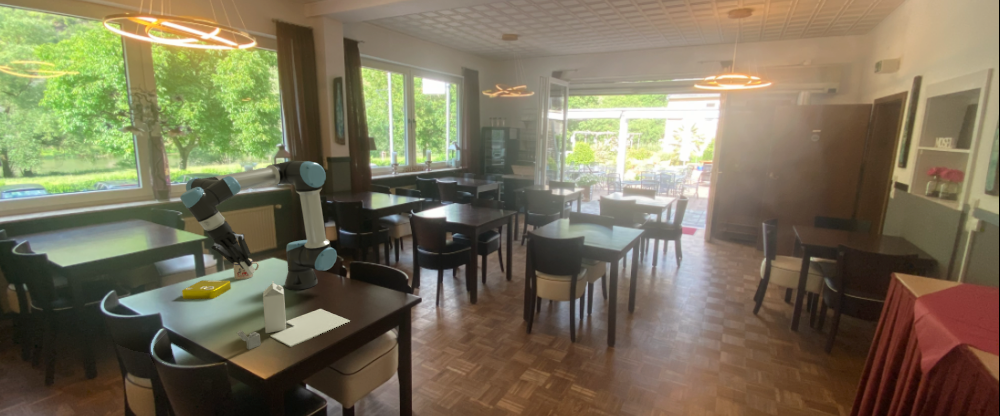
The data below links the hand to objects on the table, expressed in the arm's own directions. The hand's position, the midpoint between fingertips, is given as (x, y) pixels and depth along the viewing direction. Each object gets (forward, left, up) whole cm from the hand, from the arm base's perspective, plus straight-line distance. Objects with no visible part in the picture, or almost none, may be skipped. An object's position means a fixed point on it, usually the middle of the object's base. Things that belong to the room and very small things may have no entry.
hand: (252, 272), depth 168 cm
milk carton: (-1, +13, -21) cm, 25 cm away
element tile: (-2, -50, -22) cm, 55 cm away
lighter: (+13, +21, -21) cm, 32 cm away
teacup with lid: (-25, -60, -21) cm, 69 cm away
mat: (-9, +21, -21) cm, 31 cm away
